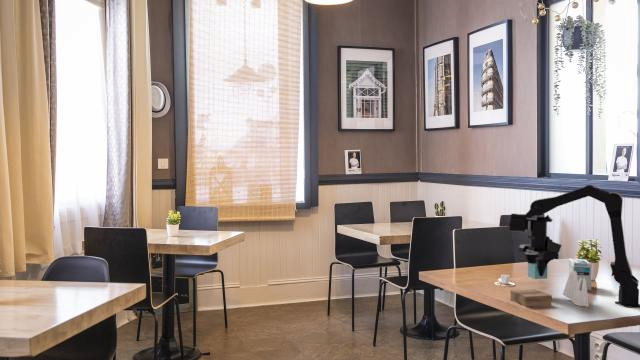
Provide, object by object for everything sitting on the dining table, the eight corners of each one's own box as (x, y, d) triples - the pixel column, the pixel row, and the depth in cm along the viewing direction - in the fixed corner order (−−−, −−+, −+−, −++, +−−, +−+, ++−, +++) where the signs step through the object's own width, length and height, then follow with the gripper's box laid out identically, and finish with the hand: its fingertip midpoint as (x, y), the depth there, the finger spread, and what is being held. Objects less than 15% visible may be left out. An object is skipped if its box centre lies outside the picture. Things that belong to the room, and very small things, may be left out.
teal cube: (547, 278, 230) (547, 265, 229) (534, 278, 229) (535, 265, 228) (539, 275, 234) (540, 262, 234) (527, 276, 234) (528, 263, 233)
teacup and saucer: (498, 281, 257) (498, 272, 257) (517, 284, 253) (517, 274, 253) (492, 285, 250) (492, 275, 250) (512, 288, 246) (512, 277, 246)
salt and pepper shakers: (561, 298, 226) (562, 268, 226) (573, 298, 227) (573, 268, 226) (577, 306, 214) (578, 275, 214) (589, 306, 215) (590, 275, 214)
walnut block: (551, 306, 216) (551, 295, 215) (525, 308, 213) (525, 296, 213) (535, 300, 225) (535, 289, 225) (510, 301, 223) (510, 290, 223)
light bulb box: (591, 290, 240) (592, 263, 240) (573, 289, 241) (573, 262, 241) (585, 285, 251) (586, 258, 250) (567, 284, 252) (568, 258, 251)
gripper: (572, 236, 223) (571, 279, 224) (544, 229, 241) (543, 269, 242) (544, 236, 221) (543, 279, 222) (518, 230, 239) (517, 270, 240)
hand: (537, 274), depth 232 cm, fingers closed on teal cube, 5 cm apart
